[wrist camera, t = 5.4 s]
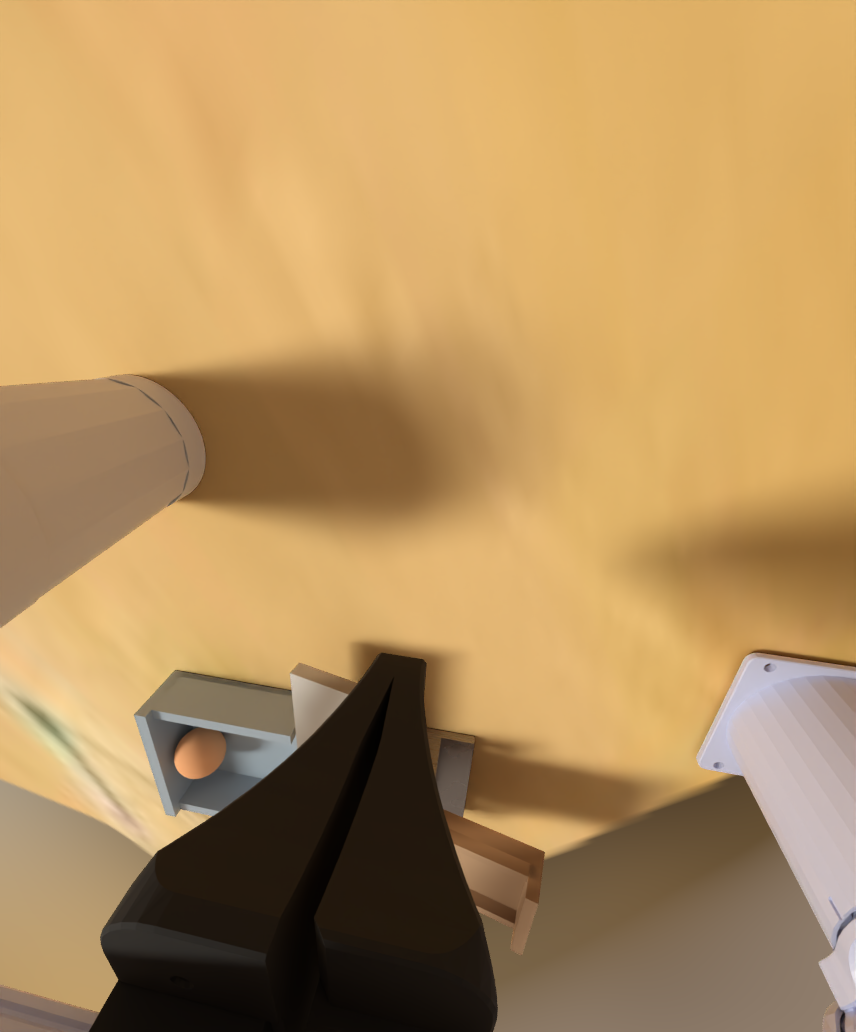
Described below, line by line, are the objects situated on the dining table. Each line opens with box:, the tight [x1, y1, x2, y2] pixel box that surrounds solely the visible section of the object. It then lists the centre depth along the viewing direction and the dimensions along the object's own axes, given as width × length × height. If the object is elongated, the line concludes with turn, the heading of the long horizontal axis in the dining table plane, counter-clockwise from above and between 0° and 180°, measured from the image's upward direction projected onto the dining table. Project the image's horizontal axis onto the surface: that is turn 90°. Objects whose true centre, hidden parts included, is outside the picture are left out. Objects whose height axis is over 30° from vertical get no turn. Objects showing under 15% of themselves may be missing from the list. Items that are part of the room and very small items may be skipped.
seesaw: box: [290, 663, 545, 955], centre depth 23 cm, size 14×12×2 cm
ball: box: [174, 727, 226, 779], centre depth 28 cm, size 3×3×3 cm
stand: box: [427, 728, 475, 817], centre depth 26 cm, size 6×7×5 cm
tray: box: [134, 670, 297, 817], centre depth 28 cm, size 9×9×4 cm
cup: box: [0, 375, 206, 628], centre depth 16 cm, size 8×8×12 cm
